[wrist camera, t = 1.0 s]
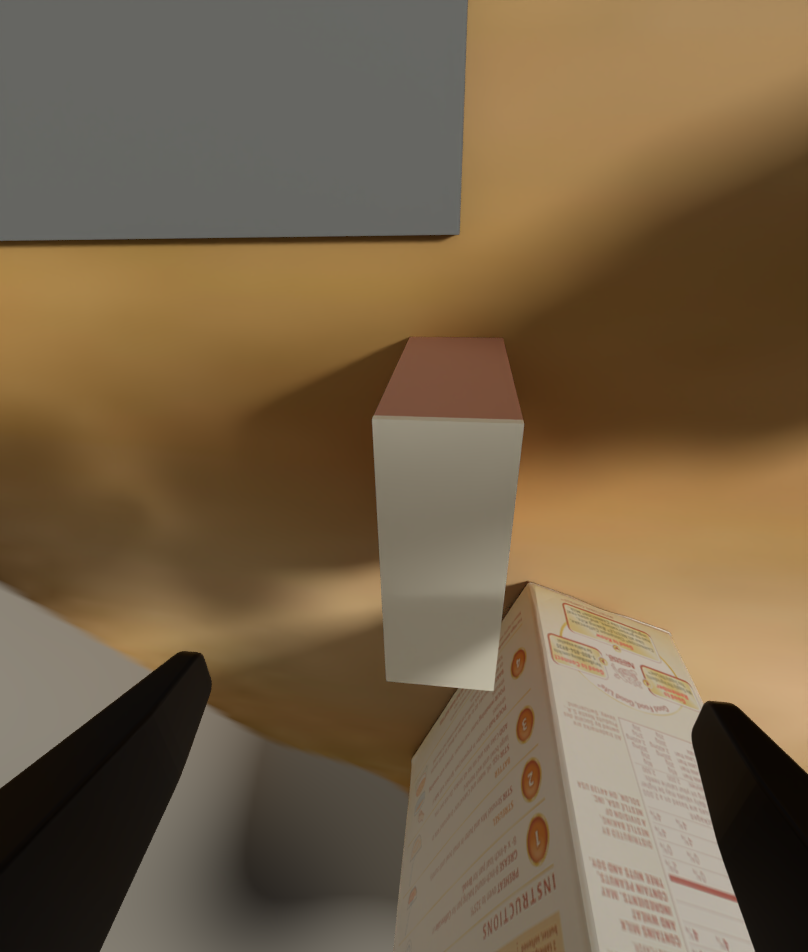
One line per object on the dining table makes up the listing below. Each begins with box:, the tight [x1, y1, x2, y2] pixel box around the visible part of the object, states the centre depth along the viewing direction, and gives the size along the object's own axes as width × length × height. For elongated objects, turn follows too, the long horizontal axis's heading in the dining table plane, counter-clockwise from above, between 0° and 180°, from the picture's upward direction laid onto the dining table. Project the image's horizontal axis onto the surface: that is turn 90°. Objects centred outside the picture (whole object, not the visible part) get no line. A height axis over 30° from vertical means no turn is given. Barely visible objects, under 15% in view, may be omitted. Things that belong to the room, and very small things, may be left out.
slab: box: [372, 337, 524, 691], centre depth 14 cm, size 3×8×7 cm, turn 1°
